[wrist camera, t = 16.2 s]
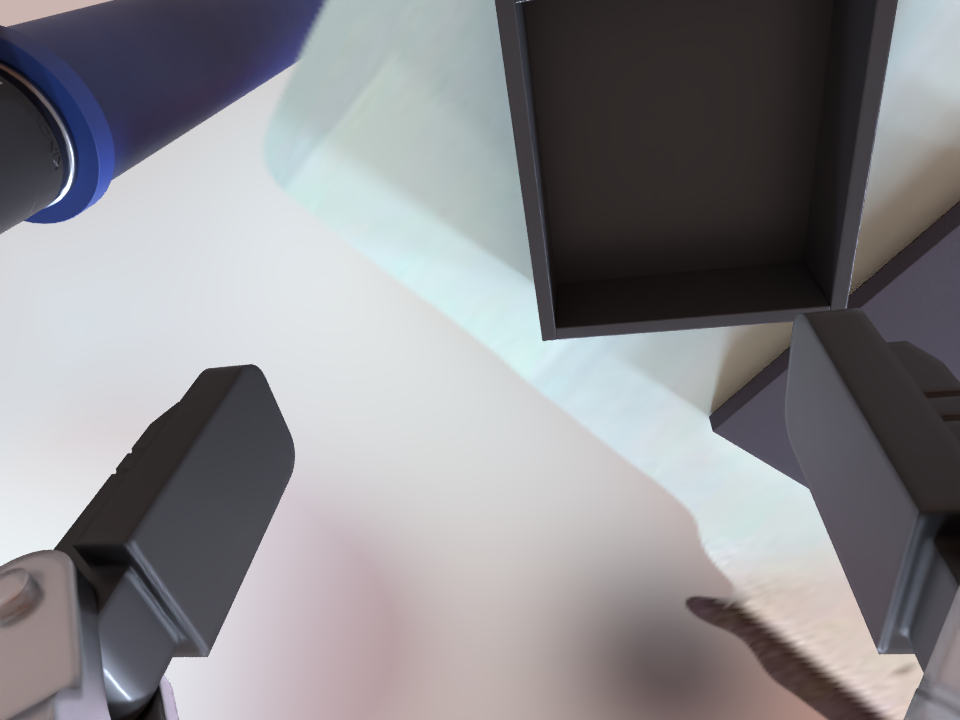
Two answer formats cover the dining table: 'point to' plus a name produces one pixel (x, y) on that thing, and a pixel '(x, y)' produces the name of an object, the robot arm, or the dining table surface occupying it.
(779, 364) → the notebook
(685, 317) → the bin
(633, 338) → the dining table surface
